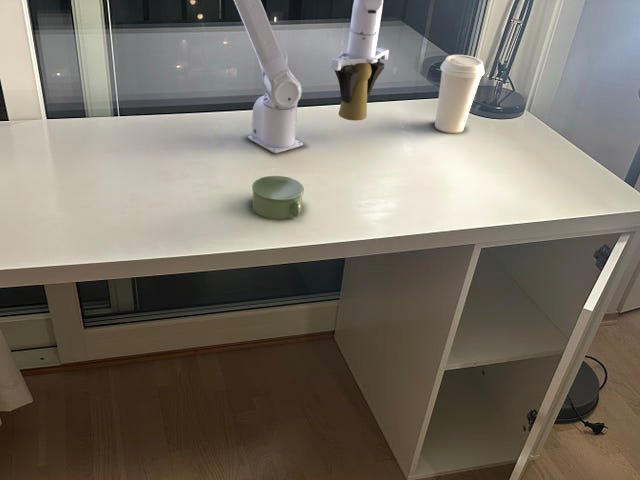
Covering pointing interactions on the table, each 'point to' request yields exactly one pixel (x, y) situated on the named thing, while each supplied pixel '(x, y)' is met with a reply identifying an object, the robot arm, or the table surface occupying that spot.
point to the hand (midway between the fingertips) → (354, 99)
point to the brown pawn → (357, 95)
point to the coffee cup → (457, 91)
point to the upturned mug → (277, 197)
